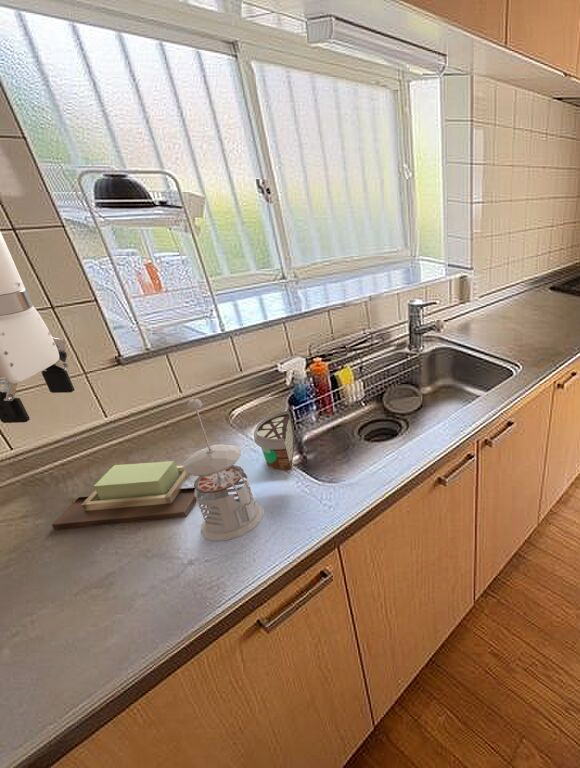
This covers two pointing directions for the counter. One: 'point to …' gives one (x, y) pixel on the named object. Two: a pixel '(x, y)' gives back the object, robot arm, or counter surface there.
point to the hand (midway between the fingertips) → (41, 405)
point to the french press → (222, 489)
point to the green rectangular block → (137, 480)
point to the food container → (276, 440)
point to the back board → (129, 507)
